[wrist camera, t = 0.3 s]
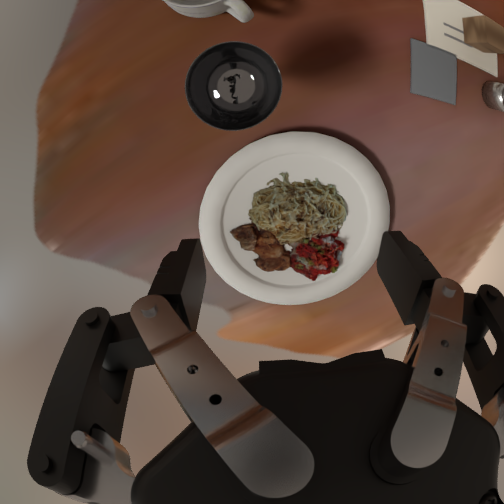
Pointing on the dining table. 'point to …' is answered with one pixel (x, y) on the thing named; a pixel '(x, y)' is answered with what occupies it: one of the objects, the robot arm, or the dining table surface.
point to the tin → (493, 95)
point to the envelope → (455, 33)
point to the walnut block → (483, 34)
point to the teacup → (212, 8)
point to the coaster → (433, 72)
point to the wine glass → (233, 86)
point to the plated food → (294, 218)
